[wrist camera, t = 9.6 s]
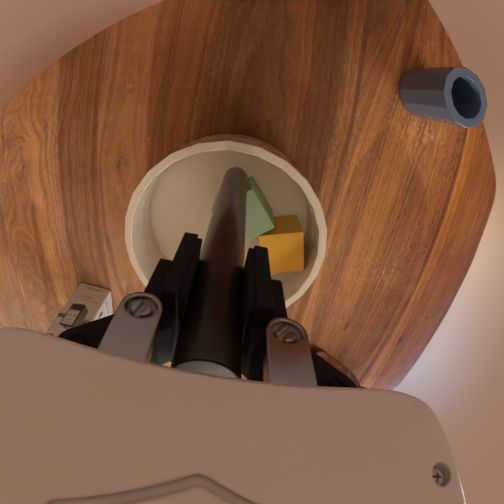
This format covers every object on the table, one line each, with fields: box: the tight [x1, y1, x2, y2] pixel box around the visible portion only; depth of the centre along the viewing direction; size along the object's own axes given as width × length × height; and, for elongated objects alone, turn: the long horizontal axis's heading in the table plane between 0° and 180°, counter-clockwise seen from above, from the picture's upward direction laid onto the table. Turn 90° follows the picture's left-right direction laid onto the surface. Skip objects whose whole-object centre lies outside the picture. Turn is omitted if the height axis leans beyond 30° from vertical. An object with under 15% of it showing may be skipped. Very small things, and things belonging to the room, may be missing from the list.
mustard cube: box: [258, 215, 304, 273], centre depth 28 cm, size 4×4×4 cm
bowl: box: [125, 134, 327, 308], centre depth 27 cm, size 17×17×6 cm
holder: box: [399, 67, 487, 128], centre depth 19 cm, size 5×5×8 cm
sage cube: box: [211, 176, 275, 242], centre depth 26 cm, size 4×4×4 cm
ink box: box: [46, 283, 113, 337], centre depth 30 cm, size 9×5×12 cm, turn 167°
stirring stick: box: [171, 167, 247, 379], centre depth 16 cm, size 2×2×20 cm
